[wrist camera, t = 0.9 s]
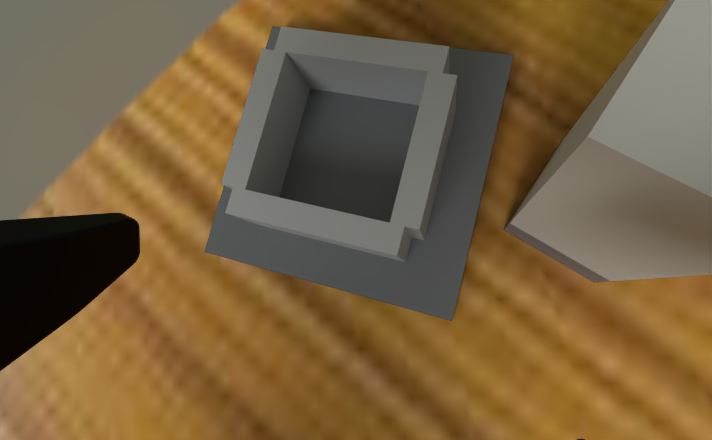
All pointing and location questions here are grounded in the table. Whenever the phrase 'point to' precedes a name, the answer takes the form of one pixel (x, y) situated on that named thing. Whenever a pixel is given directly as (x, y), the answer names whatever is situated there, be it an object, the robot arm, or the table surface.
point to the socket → (362, 164)
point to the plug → (635, 163)
